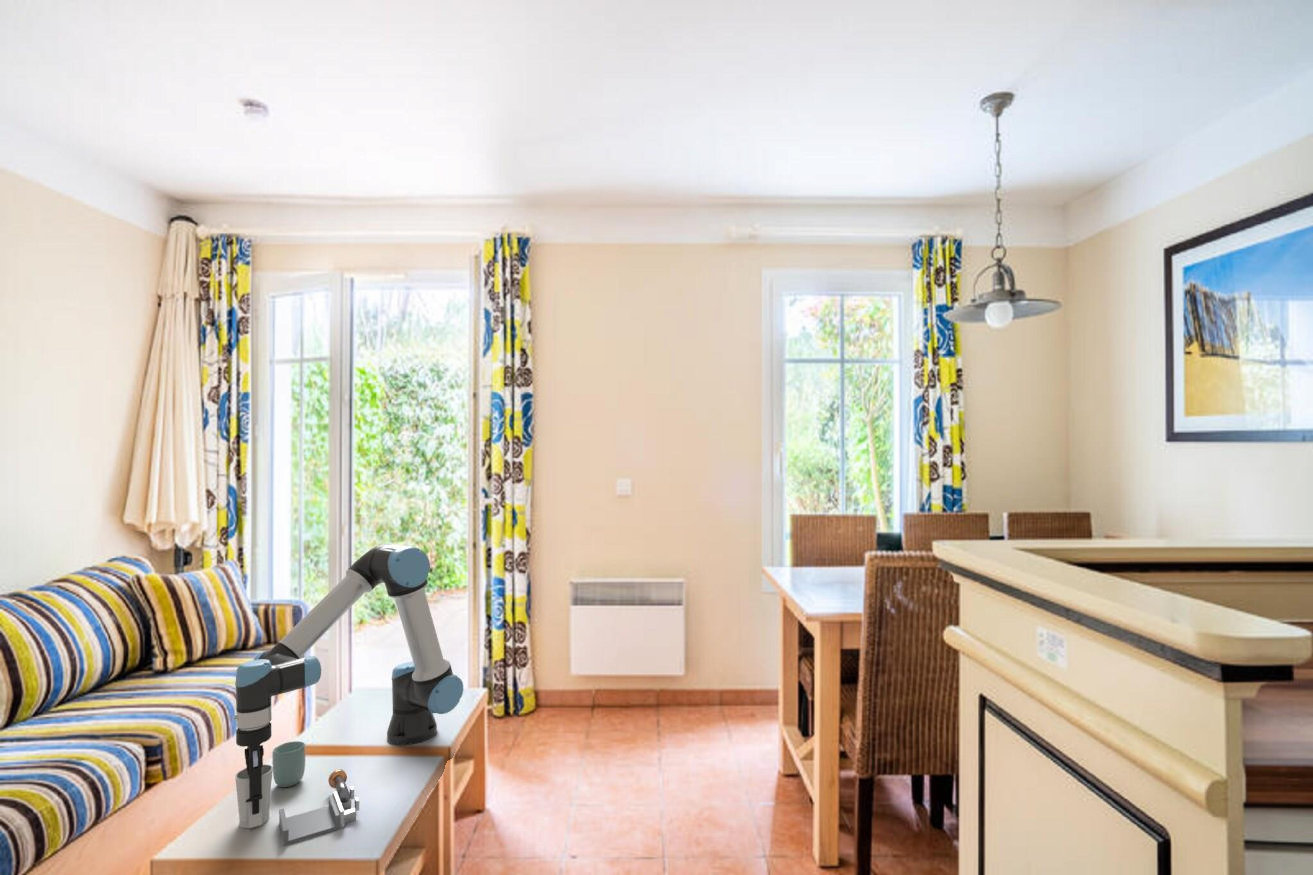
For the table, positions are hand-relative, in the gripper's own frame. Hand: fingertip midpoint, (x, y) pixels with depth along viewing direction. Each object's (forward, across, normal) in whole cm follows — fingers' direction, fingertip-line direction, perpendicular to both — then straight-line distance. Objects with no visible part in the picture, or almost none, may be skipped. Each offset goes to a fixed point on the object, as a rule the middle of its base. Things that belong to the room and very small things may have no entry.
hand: (254, 818), depth 164 cm
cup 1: (+1, 0, 0) cm, 1 cm away
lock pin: (-1, +2, +19) cm, 19 cm away
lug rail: (+1, +11, +19) cm, 22 cm away
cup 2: (+1, -17, +9) cm, 19 cm away
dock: (+1, +11, +11) cm, 16 cm away
